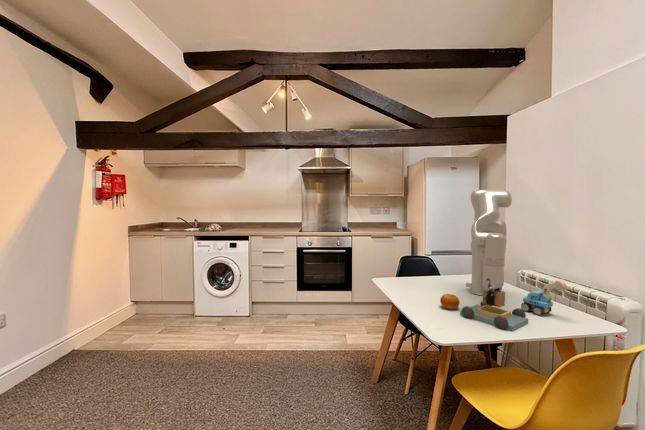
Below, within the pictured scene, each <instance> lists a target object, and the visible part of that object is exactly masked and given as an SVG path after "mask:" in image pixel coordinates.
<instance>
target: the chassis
mask: <svg viewBox="0 0 645 430" xmlns="http://www.w3.org/2000/svg"><path fill="white" fill-rule="evenodd" d="M459 315H460V316H463V317H464V318H466V319H472V320H475V321H478V322H481V323H485V324H488V325H491V326H494V327H496V328H497V329H499V330H507V331H510V332H514V331H516V330H518V329H520V328H521V327H524V326H526V325H528V324H529V318H528V317H527V314H526V311H523V310H522V309H521V307H518V308H514V309H512V311H510V310H506V309H503V308H501V307H495V306H492V305H488V304H484V303H483V300H481V302H480V304H475V305H472V306H463V307H462V308H461V310H459Z"/></svg>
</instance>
